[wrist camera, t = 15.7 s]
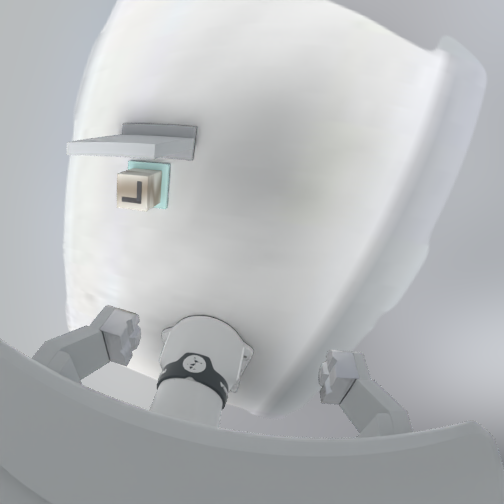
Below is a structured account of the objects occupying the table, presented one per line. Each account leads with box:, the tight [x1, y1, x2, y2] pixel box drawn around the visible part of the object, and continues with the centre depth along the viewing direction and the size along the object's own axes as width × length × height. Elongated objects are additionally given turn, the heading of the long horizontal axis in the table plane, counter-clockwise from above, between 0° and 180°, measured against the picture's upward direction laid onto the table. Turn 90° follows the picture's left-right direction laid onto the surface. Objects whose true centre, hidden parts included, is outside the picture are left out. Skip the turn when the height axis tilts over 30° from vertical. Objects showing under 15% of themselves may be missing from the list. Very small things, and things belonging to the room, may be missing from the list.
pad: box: [128, 161, 170, 209], centre depth 40 cm, size 7×7×1 cm
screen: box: [67, 123, 197, 161], centre depth 31 cm, size 5×12×14 cm, turn 81°
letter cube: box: [117, 168, 162, 212], centre depth 37 cm, size 5×5×5 cm
